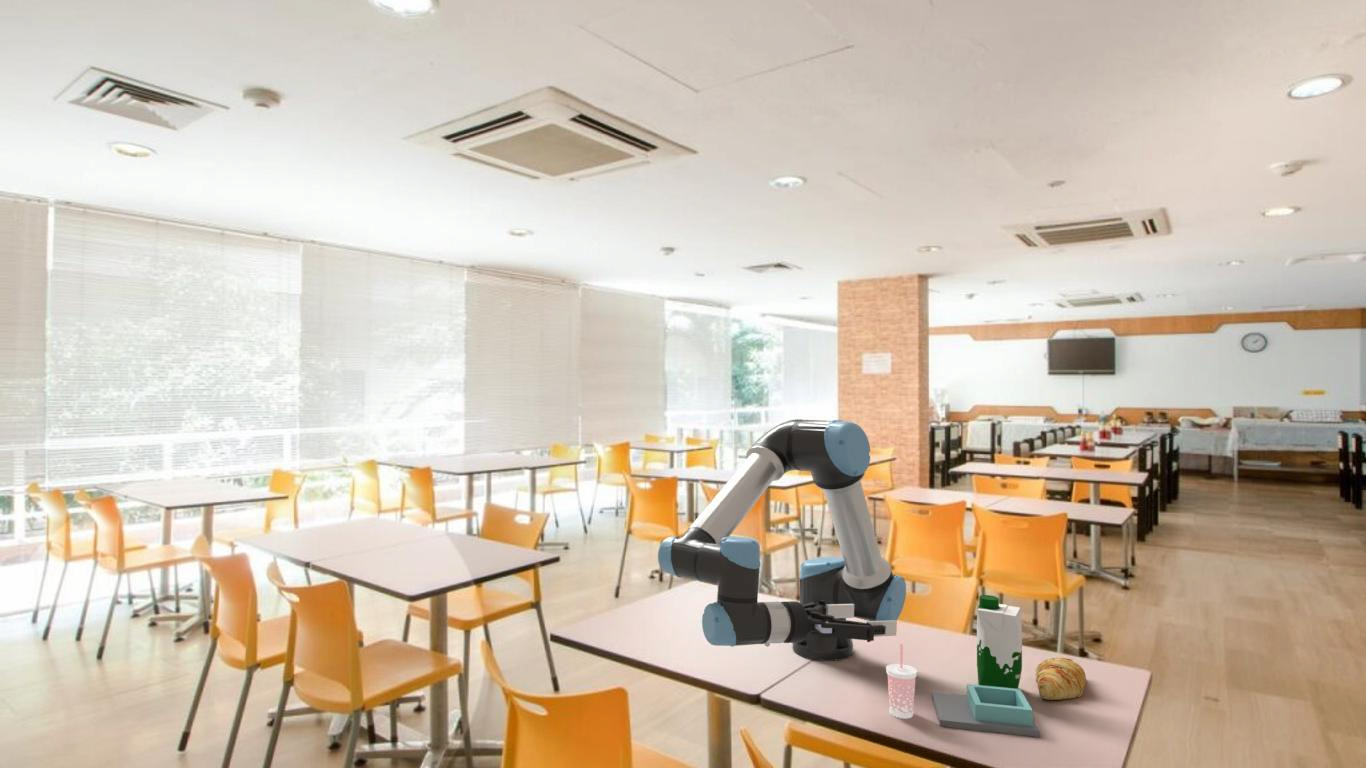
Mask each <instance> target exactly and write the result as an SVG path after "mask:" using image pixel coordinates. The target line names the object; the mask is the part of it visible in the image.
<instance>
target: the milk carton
mask: <svg viewBox="0 0 1366 768" xmlns="http://www.w3.org/2000/svg"><path fill="white" fill-rule="evenodd" d="M978 597H979V600H978V603H979V604H978V606H977V610H976V613H977V614H976V671H977V680H978V681H977V683H978V684H977V685H983V686H993V687H1004V688H1014V689H1019V686H1020V682H1021V681H1020V680H1021V676H1022V670H1023V627H1022V615H1021V614H1022V613H1021V607H1019V606H1012V605H1008V604H1005V603H1003V604H1002V603H1000V602H999V600H1000V599H999V597H997V596H994V595H988V594H987V595H986V594H983V595H982V594H981V595H979V596H978Z"/></svg>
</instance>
